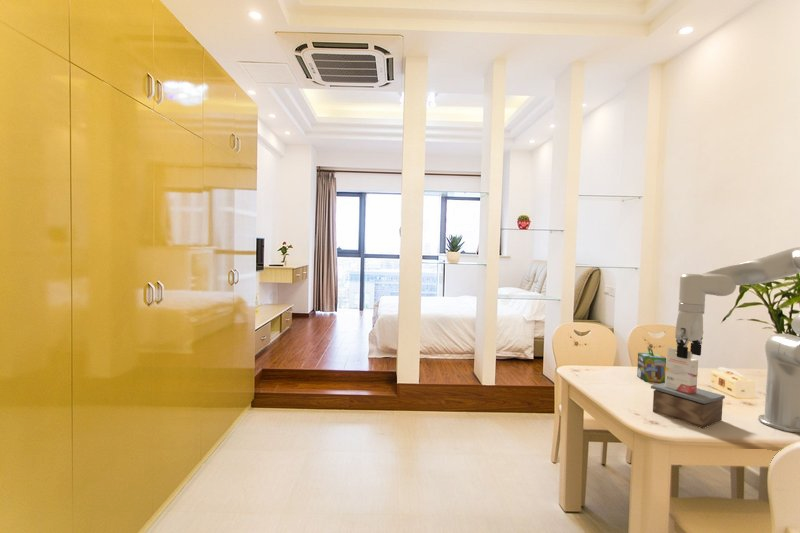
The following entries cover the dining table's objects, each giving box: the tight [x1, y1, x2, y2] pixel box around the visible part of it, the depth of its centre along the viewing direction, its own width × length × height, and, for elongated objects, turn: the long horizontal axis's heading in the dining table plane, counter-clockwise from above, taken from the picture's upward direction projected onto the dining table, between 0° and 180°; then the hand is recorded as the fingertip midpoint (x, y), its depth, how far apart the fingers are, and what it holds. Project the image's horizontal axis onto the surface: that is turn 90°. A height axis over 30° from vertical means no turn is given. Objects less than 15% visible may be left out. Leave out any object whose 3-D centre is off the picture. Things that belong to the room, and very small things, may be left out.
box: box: [652, 389, 724, 429], centre depth 146 cm, size 16×14×8 cm
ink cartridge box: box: [665, 346, 699, 394], centre depth 146 cm, size 9×5×15 cm, turn 27°
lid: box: [650, 382, 726, 404], centre depth 146 cm, size 17×15×1 cm
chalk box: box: [636, 346, 667, 383], centre depth 189 cm, size 9×9×15 cm
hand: (688, 356), depth 145 cm, fingers open, 9 cm apart
